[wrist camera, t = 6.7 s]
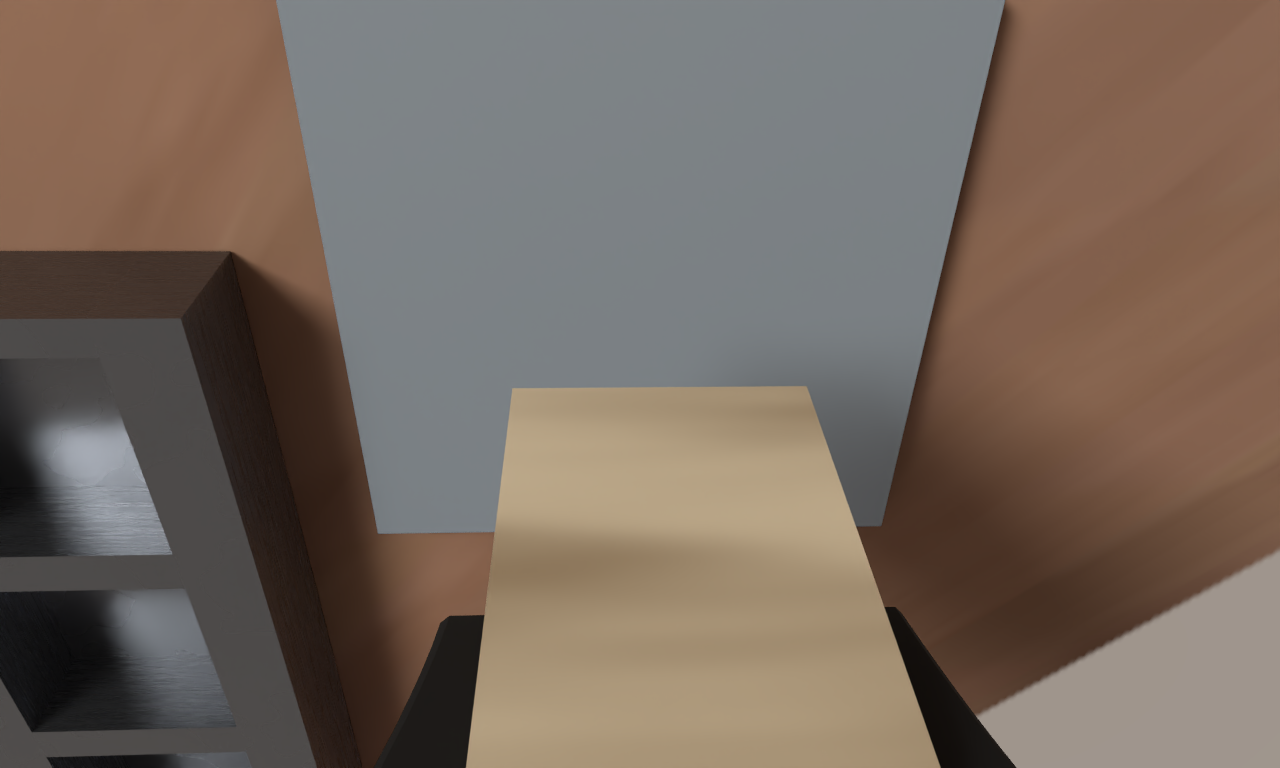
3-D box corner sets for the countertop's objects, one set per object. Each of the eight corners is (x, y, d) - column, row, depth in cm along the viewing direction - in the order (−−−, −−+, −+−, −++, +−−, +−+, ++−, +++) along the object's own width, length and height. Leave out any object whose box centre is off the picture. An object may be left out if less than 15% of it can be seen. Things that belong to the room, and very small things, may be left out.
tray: (366, 783, 28) (347, 867, 26) (98, 790, 27) (56, 877, 25) (230, 251, 18) (180, 318, 16) (-198, 251, 17) (-309, 320, 15)
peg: (774, 590, 15) (870, 1012, 10) (526, 594, 14) (493, 1027, 9) (806, 386, 12) (952, 800, 7) (512, 388, 12) (459, 816, 7)
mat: (875, 509, 22) (881, 525, 22) (383, 516, 22) (378, 533, 21) (993, -12, 16) (1005, -5, 15) (283, -23, 15) (272, -16, 14)
